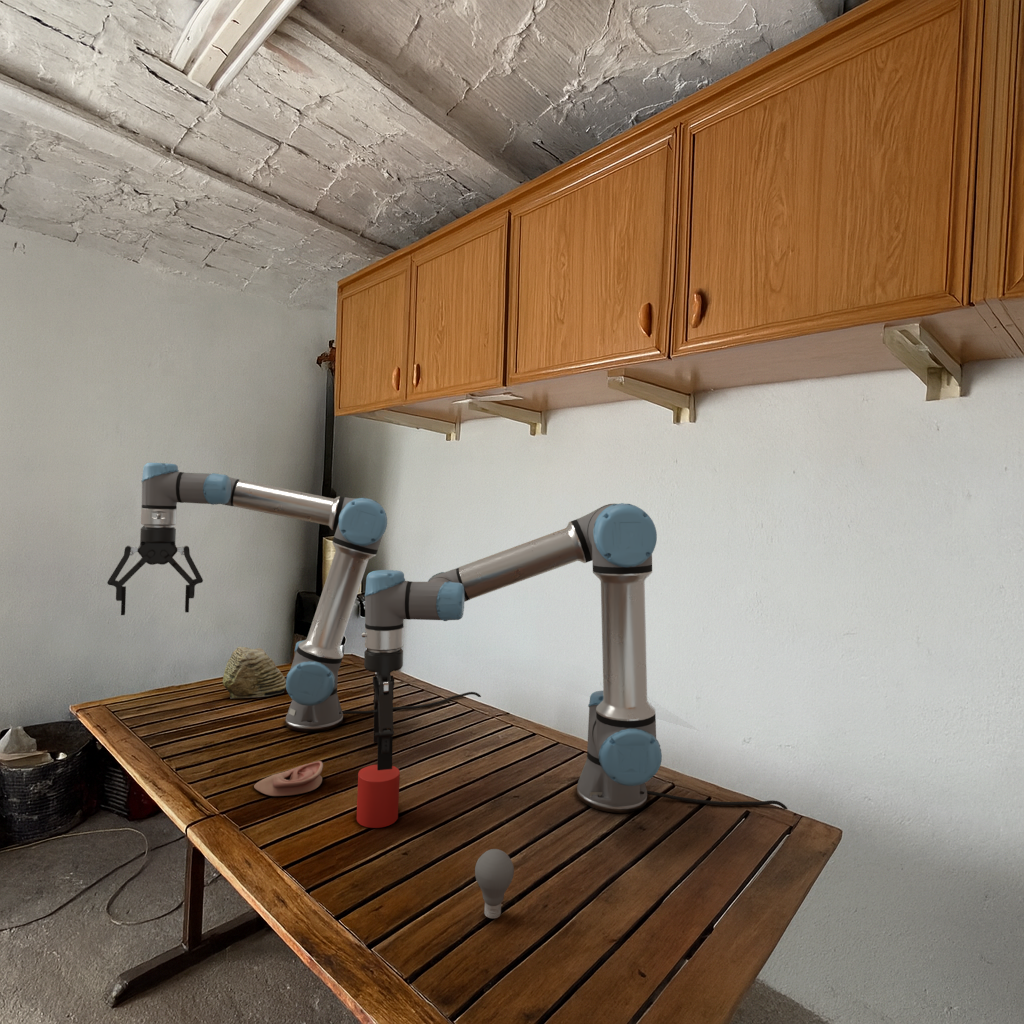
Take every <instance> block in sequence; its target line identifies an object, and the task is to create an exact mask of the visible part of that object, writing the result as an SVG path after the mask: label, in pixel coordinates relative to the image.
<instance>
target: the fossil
mask: <svg viewBox="0 0 1024 1024" xmlns="http://www.w3.org/2000/svg"><path fill="white" fill-rule="evenodd" d="M222 676H223V677H222V685H223V687H224V688H225V690H226V691H228V693H229V698H230V699H250V698H264V697H271V696H275V695H281V694H284V693H285V691H287V689H286V677H285V676H284V674H283V673H282V672H281V669H279V668H278V667H277V665H276V663H275V662H274V660H273V659H272V658H271V657H270V656H269V655H268V654H267V653H266V652H265V650H264V649H263V648H260V647H258V648H251V647H247V646H246V647H245V646H238V647H237V648H236V649H235V650H233V651H232V653H231V656H230V657H229V659H228V660H227V663H226V666H225V668H224V671H223V675H222Z"/></svg>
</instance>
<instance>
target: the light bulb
mask: <svg viewBox="0 0 1024 1024" xmlns="http://www.w3.org/2000/svg"><path fill="white" fill-rule="evenodd" d="M514 874H515V867H514V863H513V861H512V859H511V857H510V856H509V855H508V854H507V853H506V852H505V851H503V850H501V849H498V848H491V849H487V850H486V851H484V852H483V853H482V854H481V855H480V856H479V857H478V859H477V861H476V863H475V867H474V876H475V880H476V882H477V884H478V886H479V888H480V890H481V893H482V899H483V901H484V910H483V911H484V912H483V914H484V916H485V917H487V918H489V919H498V918H499V917H501V914H502V903H503V901H504V898H505V893H506V891H507V890H508V888H509V887H510V885H511V883H512V882H513V879H514V876H515V875H514Z"/></svg>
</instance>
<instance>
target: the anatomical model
mask: <svg viewBox="0 0 1024 1024" xmlns="http://www.w3.org/2000/svg"><path fill="white" fill-rule="evenodd" d="M323 768H324V763H323V761H321V760H318V761H312V762H309V763H306V764H303V765H299V766H297V767H294V768H291V769H288V770H286V771H283V772H278V773H275V774H272V775H269V776H267V777H265V778H263V779H260V780H259V781H257V782H256V783H255V784H254V785H253V788H254V789H255V790H256V791H257V792H259V793H261V794H264V795H266V796H268V797H269V796H270V797H284V796H295V795H301V794H305V793H308V792H312V791H315V790H316V789H317V788H319V787H320V786H321V784H322V783H323V777H322V775H321V774H322V771H323Z"/></svg>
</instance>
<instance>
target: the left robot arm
mask: <svg viewBox="0 0 1024 1024" xmlns="http://www.w3.org/2000/svg"><path fill="white" fill-rule="evenodd" d="M141 479H142V480H141V507H140V511H141V512H140V513H141V514H140V524H141V525H142V526H141V528H140V533H139V534H140V536H139V537H140V538H139V546H131V545H126V546H125V547H124V552H123V555H122V556H121V559H120V560H119V563H117V566H116V567H115V569H114V570H113V572H112V574H111V575H110V577H109V578H108V580H107V585H108V586H113V587H115V600H116V602H120V604H121V605H120V616H125V615H126V601H127V599H126V598H127V586H126V585H125V584H126V583H127V582H128V581H129V580H130V579H131V578H132V577H133V576H134V575H135V574H136V573H137V572H138V571H139V570H140V569H141V568H142V567H143V566H145V564H148V565H150V566H151V565H152V566H153V565H161V566H163V565H166V564H169V565H170V566H171V567H172V568H174V570H175V571H176V572H177V573H178V574H179V575H180V576H181V577H182V578H183V579H184V580H185V581H186V583H187V584H185V594H184V595H185V600H184V601H185V602H184V612H185V613H189V612H190V599H194V598H195V589H196V585H199V584H202V583H203V582H204V579H203V577H202V575H201V573H200V571H199V569H198V568H197V565H196V564H195V562H194V559H193V558H192V556H191V552H190V547H189V546H188V545H184V546H177V545H176V538H177V537H176V536H177V529H176V527H175V525H177V505H178V503H180V504H183V503H184V504H185V503H186V504H198V505H199V504H203V505H212V506H214V505H223V506H227V507H228V506H229V507H235V508H240V509H244V510H250V511H254V512H260V513H263V514H268V515H274V516H280V517H284V518H288V519H293V520H294V519H295V520H300V521H303V522H304V521H305V522H309V523H315V524H320V525H324V526H328V527H329V528H330V529H331V531H334V532H335V533H334V535H333V538H332V540H331V541H332V542H331V543H332V545H333V547H334V549H335V551H334V555H333V557H332V560H331V564H330V567H329V569H328V574H327V576H326V580H325V582H324V584H323V588H322V591H321V595H320V597H319V601H318V604H317V607H316V610H315V613H314V616H313V619H312V622H311V625H310V628H309V631H308V634H307V637H306V639H303V640H299V641H297V642H296V643H295V648H294V650H293V651H294V657H293V660H292V664H291V667H290V669H289V670H288V672H287V674H286V677H285V680H286V692H287V694H288V696H289V697H290V699H291V702H290V704H289V708H288V711H287V713H286V715H285V726H286V728H287V729H289V730H291V731H294V732H295V731H296V732H301V733H316V732H325V731H329V730H332V729H335V728H337V727H339V726H340V725H342V723H343V722H344V715H368V714H374V711H377V710H374V709H371V710H343V709H342V706H341V702H340V699H339V695H338V682H339V681H338V680H339V678H338V677H339V671H340V669H341V664H342V661H343V659H344V653H343V651H342V650H341V645H342V642H343V640H344V636H345V633H346V630H347V626H348V624H349V621H350V617H351V615H352V612H353V609H354V605H355V602H356V600H357V596H358V593H359V589H360V587H361V584H362V582H363V581H362V580H363V578H364V575H365V571H366V569H367V566H368V562H369V560H371V559H372V558H374V557H376V556H377V554H378V551H379V547H380V545H381V541H382V538H383V537H384V534H385V532H386V529H387V527H388V517H387V516H388V515H387V513H386V511H385V509H384V507H383V506H382V505H381V504H380V503H379V502H378V501H376V500H374V499H372V498H367V497H358V498H357V497H356V498H354V497H345V496H341V495H339V496H336V497H335V498H333V497H327V496H323V495H318V494H314V493H313V494H312V493H308V492H303V491H299V490H295V489H290V488H289V489H288V488H284V487H279V486H276V485H275V486H274V485H270V484H264V483H259V482H255V481H249V480H245V479H239V478H235V477H230V476H229V475H227V474H221V473H214V472H213V473H210V472H209V473H206V472H205V473H204V472H182V471H180V470H179V467H178V465H177V464H176V463H168V462H166V463H164V462H147V463H145V464H144V465H143V469H142V478H141ZM135 553H138V555H139V556H140V559H139V560H138V561H137V562H136V563H135V564H134V565H133V566H132V567H131V568H130V569H128V571H127V572H126V573H125V574H124V575H123V576H122V577H121V578H120V579H119V580H116V579H117V578H118V577H119V575H120V574H121V571H122V570H123V568H124V566H125V565H126V564H127V562H128V561H129V558H130V556H134V555H135ZM177 553H180V555H181V556H184V558H185V561H186V562H187V564H188V566H189V568H190V570H191V572H192V573H193V575H194V577H195V578H192V577H191V576H190V575H189V573H187V572H186V570H185V569H184V568H183V567H182V566H181V565H180V564H179V563H178V561H176V560H175V559H174V557H175V556H176V555H177ZM124 585H125V586H124ZM469 695H473V696H476V697H478V698H481V697H482V695H481V694H480V693H478V692H476V691H468V692H464V693H460V694H456V695H452V696H449V697H446V698H444V699H441V700H438V701H434V702H430V703H425V704H420V705H419V704H418V705H409V706H408V705H406V706H393V711H398V710H399V711H400V710H416V709H422V708H428V707H433V706H437V705H440V704H443V703H446V702H448V701H451V700H454V699H458V698H462V697H466V696H469Z"/></svg>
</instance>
